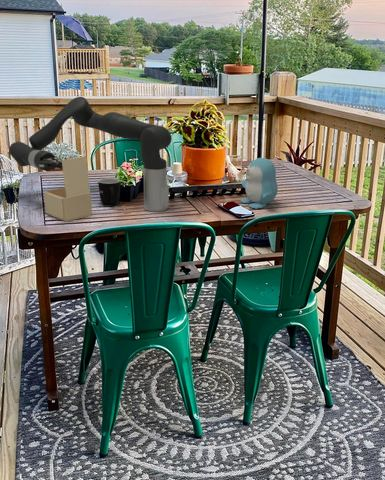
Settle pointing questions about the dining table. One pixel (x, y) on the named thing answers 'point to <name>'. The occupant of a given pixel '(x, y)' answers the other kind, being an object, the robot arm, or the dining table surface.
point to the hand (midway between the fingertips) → (66, 167)
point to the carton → (67, 205)
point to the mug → (109, 191)
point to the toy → (260, 183)
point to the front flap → (76, 176)
